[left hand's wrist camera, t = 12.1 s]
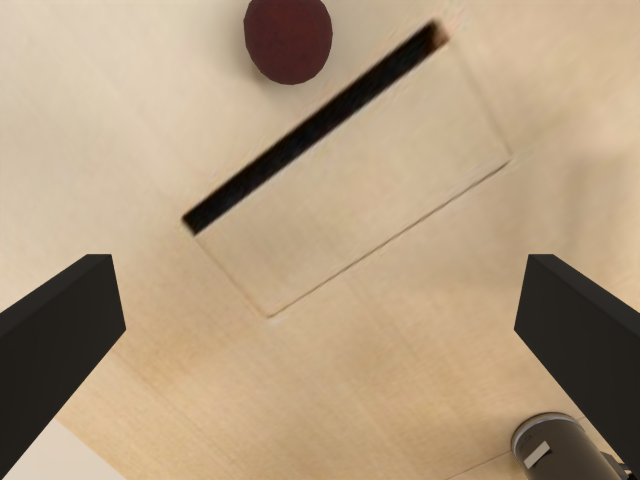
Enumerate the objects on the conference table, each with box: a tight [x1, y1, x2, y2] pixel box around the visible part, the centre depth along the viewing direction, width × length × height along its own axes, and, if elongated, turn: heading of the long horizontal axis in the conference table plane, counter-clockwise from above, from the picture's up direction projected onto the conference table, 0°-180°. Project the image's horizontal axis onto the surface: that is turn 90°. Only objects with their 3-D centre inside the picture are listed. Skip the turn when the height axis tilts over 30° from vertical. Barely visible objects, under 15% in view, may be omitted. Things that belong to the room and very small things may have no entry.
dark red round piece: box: [244, 0, 333, 85], centre depth 33 cm, size 7×8×7 cm
